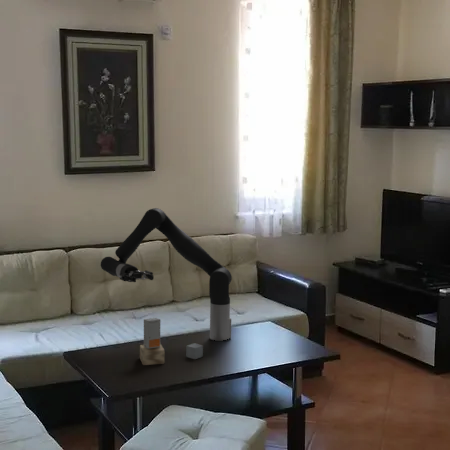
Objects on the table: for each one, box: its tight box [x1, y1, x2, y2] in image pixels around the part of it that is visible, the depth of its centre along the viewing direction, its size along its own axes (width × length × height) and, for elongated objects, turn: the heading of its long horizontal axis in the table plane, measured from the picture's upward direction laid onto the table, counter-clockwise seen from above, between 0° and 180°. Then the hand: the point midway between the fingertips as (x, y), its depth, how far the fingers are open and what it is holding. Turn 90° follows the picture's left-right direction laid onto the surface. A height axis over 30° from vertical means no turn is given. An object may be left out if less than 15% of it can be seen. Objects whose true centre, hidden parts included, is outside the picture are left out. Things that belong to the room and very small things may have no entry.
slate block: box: [185, 342, 204, 360], centre depth 298 cm, size 5×5×5 cm
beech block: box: [139, 343, 166, 366], centre depth 291 cm, size 9×9×6 cm
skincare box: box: [143, 317, 161, 349], centre depth 290 cm, size 6×4×12 cm
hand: (143, 278), depth 302 cm, fingers open, 8 cm apart
